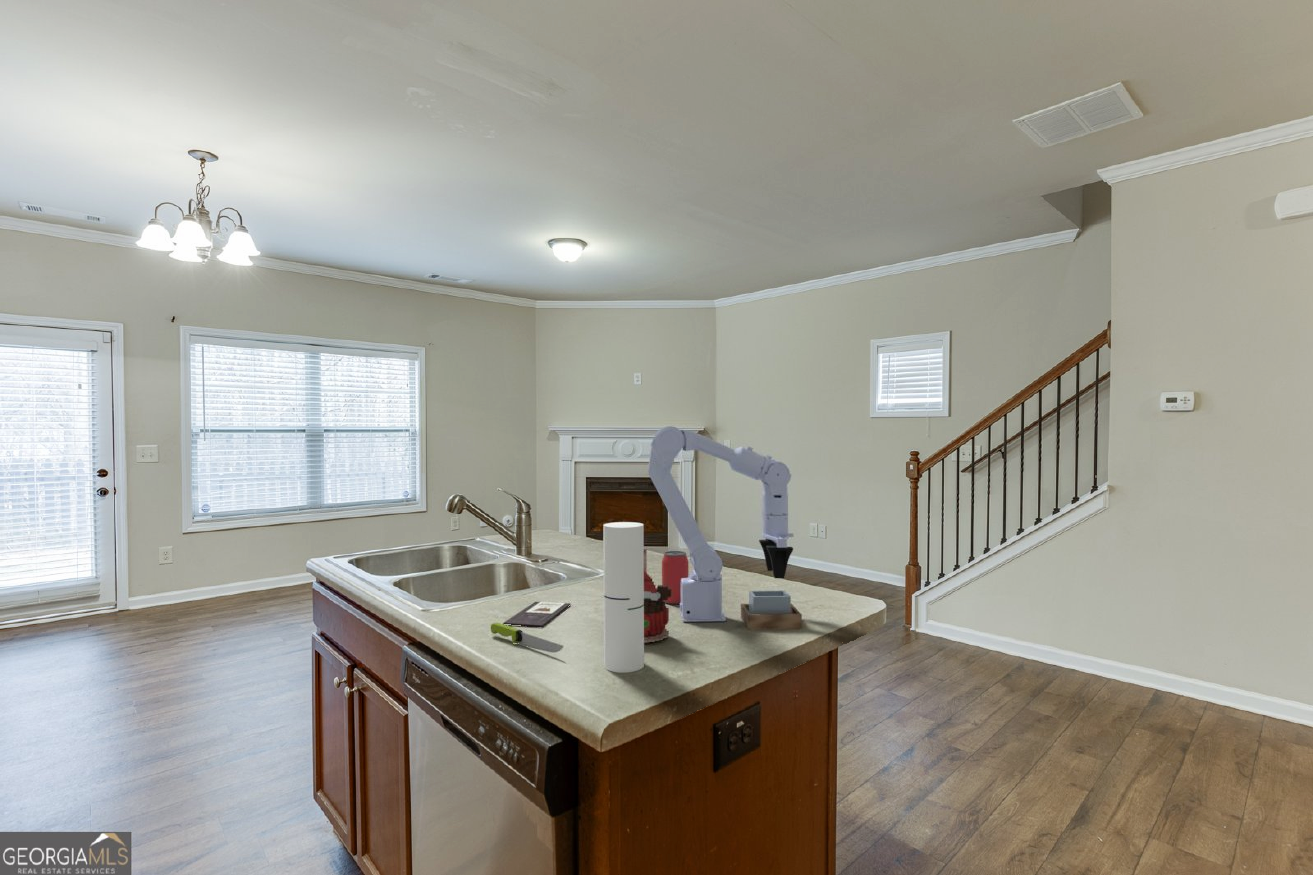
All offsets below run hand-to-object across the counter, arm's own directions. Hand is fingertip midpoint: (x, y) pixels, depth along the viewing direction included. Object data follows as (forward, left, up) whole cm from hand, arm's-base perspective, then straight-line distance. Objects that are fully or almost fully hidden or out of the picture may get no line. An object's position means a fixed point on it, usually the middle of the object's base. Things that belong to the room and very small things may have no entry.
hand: (775, 574), depth 142 cm
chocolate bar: (-54, +4, -10) cm, 55 cm away
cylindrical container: (-34, -29, -10) cm, 46 cm away
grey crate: (-3, -5, -9) cm, 11 cm away
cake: (-30, -14, -10) cm, 34 cm away
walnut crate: (-2, -5, -10) cm, 11 cm away
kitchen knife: (-53, -18, -10) cm, 57 cm away
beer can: (-22, +14, -10) cm, 28 cm away
